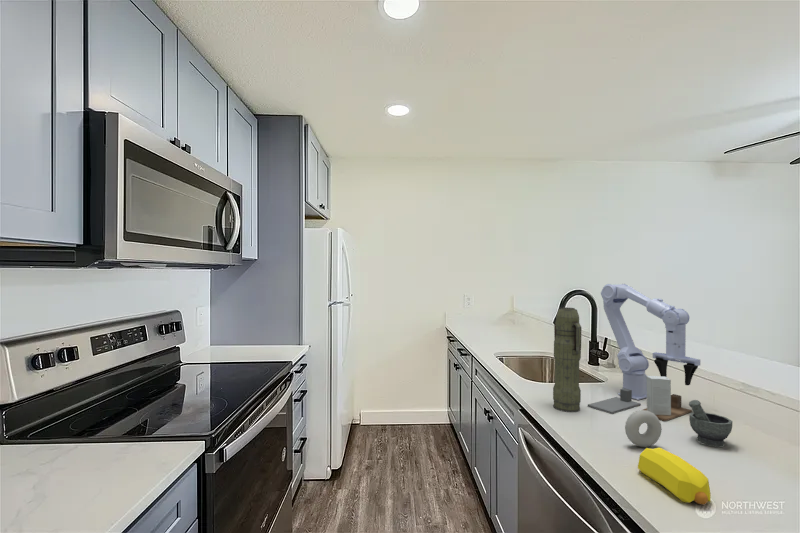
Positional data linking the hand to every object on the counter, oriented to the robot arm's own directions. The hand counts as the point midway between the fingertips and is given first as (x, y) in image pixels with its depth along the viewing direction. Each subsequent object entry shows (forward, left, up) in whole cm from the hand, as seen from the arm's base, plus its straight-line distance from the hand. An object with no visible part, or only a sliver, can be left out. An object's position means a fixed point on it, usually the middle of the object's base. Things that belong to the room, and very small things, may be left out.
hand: (675, 382), depth 146 cm
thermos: (+32, -20, -10) cm, 39 cm away
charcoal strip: (+16, -13, -9) cm, 22 cm away
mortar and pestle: (+24, +19, -10) cm, 32 cm away
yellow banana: (+59, +26, -10) cm, 65 cm away
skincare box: (+12, 0, -9) cm, 15 cm away
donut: (+43, +11, -10) cm, 45 cm away
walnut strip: (+8, 0, -9) cm, 12 cm away
